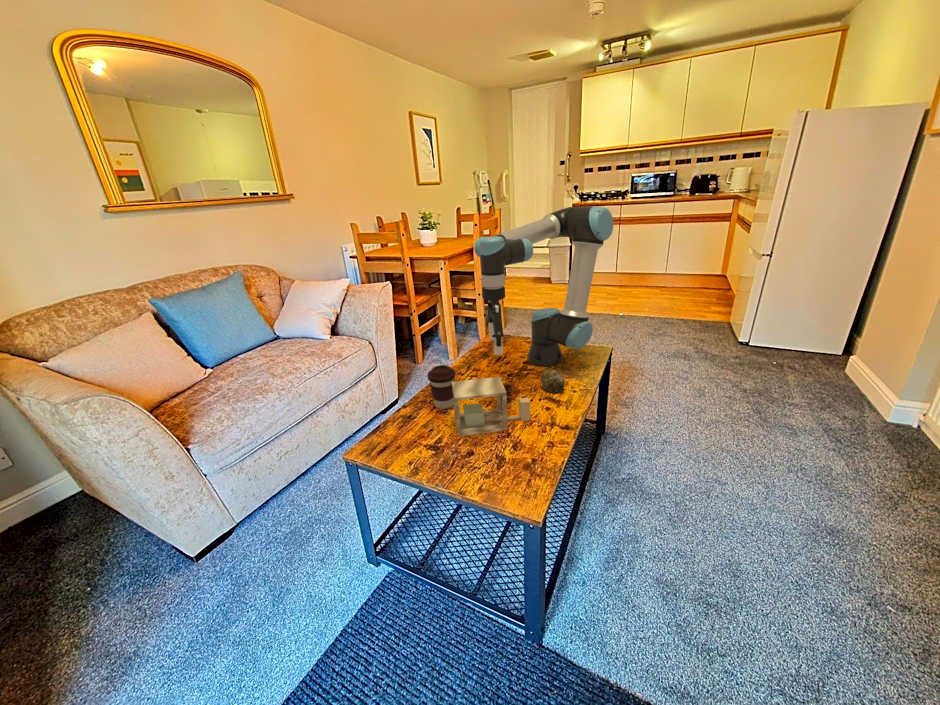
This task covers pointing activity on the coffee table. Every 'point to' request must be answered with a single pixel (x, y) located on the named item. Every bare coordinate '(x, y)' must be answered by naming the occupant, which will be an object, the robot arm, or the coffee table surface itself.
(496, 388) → the frame
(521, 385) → the coffee table surface
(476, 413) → the tethered block
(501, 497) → the coffee table surface
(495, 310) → the robot arm
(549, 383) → the seashell
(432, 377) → the coffee cup
